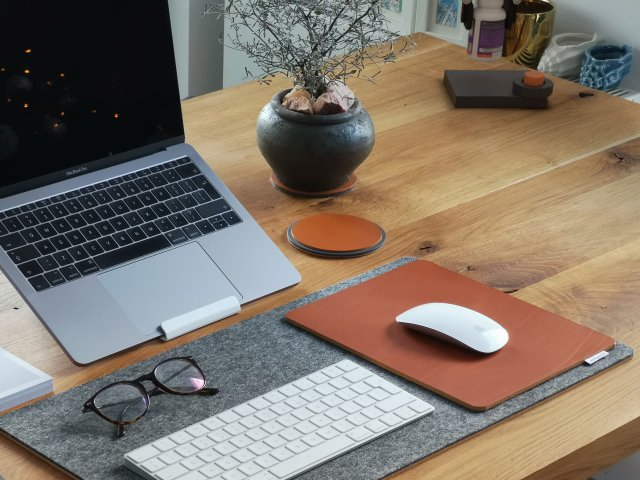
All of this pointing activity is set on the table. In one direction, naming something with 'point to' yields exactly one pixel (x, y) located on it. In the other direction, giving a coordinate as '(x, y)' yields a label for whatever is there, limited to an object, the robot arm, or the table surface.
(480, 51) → the pill bottle
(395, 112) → the table surface
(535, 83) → the button
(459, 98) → the scale
